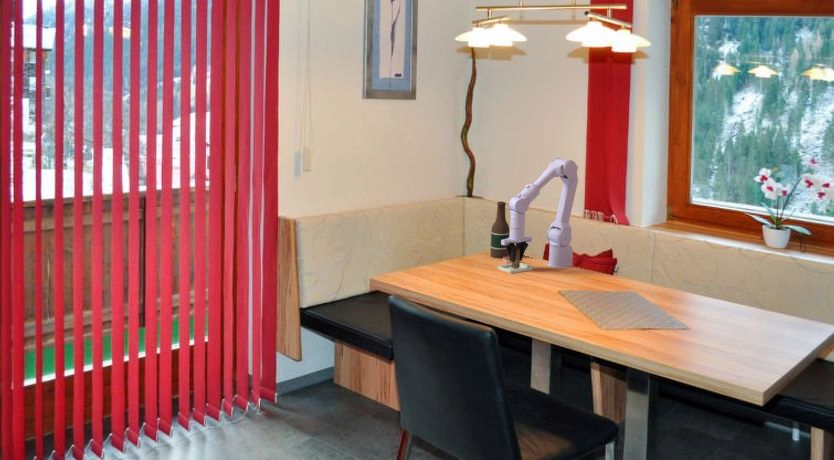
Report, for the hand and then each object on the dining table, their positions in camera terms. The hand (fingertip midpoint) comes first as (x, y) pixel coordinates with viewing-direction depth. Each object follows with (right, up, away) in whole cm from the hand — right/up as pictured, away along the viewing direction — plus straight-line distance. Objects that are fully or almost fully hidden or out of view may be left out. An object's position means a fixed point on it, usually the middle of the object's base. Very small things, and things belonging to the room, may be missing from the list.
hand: (515, 260), depth 354 cm
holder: (-1, -2, +11) cm, 11 cm away
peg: (0, -2, +1) cm, 3 cm away
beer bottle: (-4, 0, +23) cm, 23 cm away
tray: (0, -4, +1) cm, 4 cm away
